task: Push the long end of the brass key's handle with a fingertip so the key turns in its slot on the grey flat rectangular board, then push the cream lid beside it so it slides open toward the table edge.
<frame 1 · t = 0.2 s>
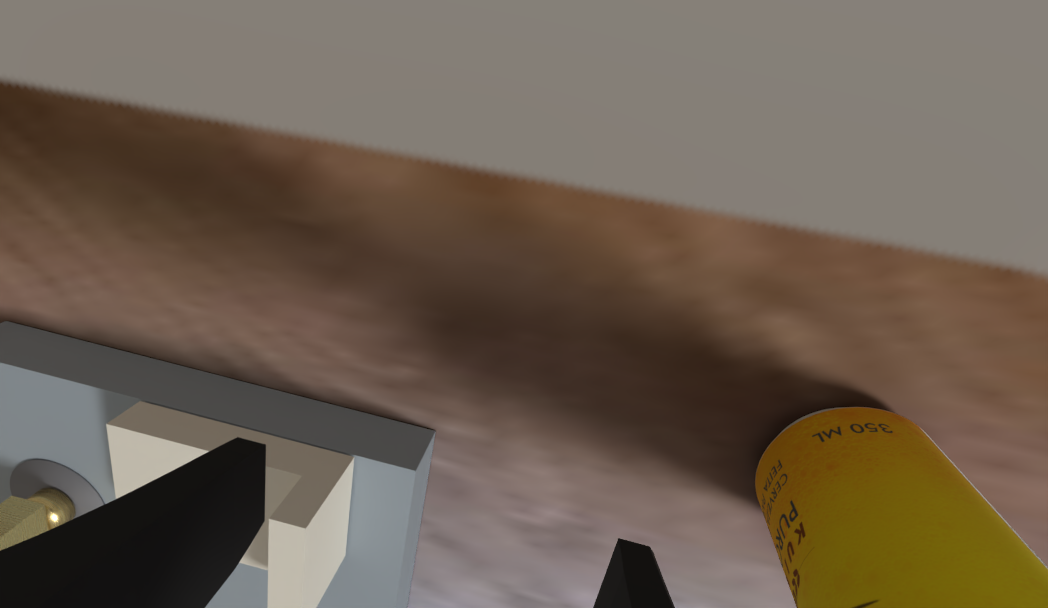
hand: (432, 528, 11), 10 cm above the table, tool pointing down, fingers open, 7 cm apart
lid: (216, 513, 20), point 4 cm above the table, slide at 0.0 cm
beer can: (834, 461, 20), on the table
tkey: (18, 594, 22), point 5 cm above the table, hinge at 0.0°
grey flat rectangular board: (220, 510, 26), on the table
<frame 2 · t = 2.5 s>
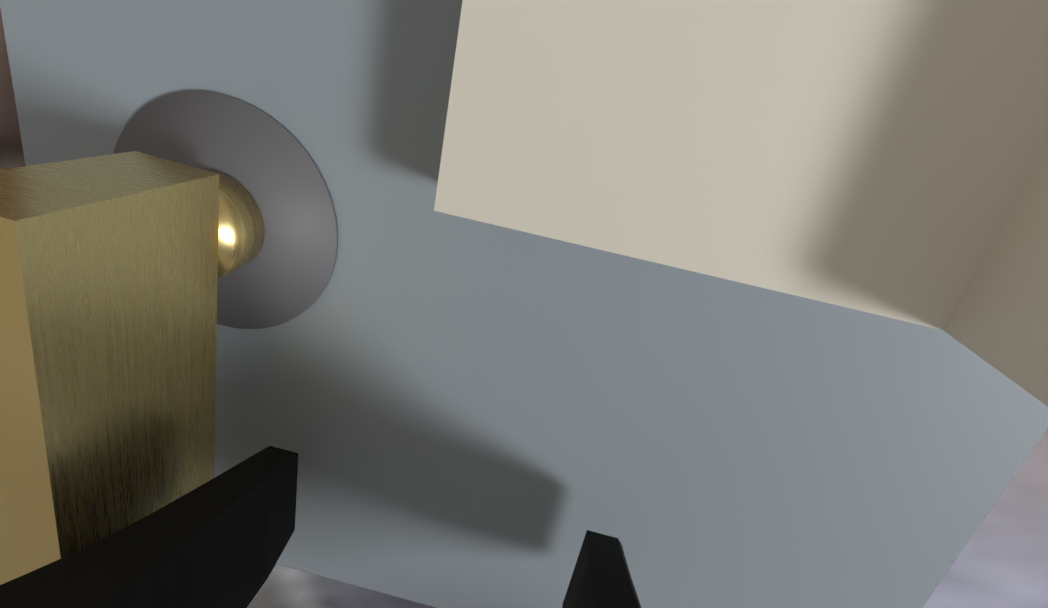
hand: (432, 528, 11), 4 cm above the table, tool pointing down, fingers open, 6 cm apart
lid: (800, 89, 6), point 4 cm above the table, slide at 0.0 cm
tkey: (132, 414, 9), point 5 cm above the table, hinge at -2.3°, touching gripper
grey flat rectangular board: (522, 290, 13), on the table
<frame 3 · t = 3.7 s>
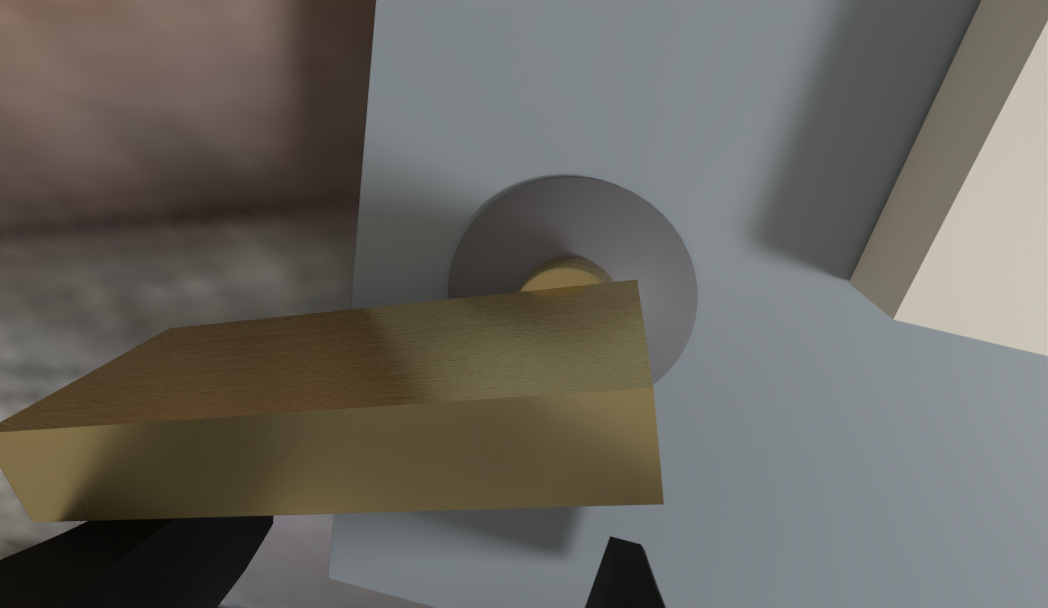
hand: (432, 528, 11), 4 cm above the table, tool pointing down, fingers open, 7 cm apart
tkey: (367, 376, 8), point 5 cm above the table, hinge at -69.2°, touching gripper
grey flat rectangular board: (807, 359, 12), on the table
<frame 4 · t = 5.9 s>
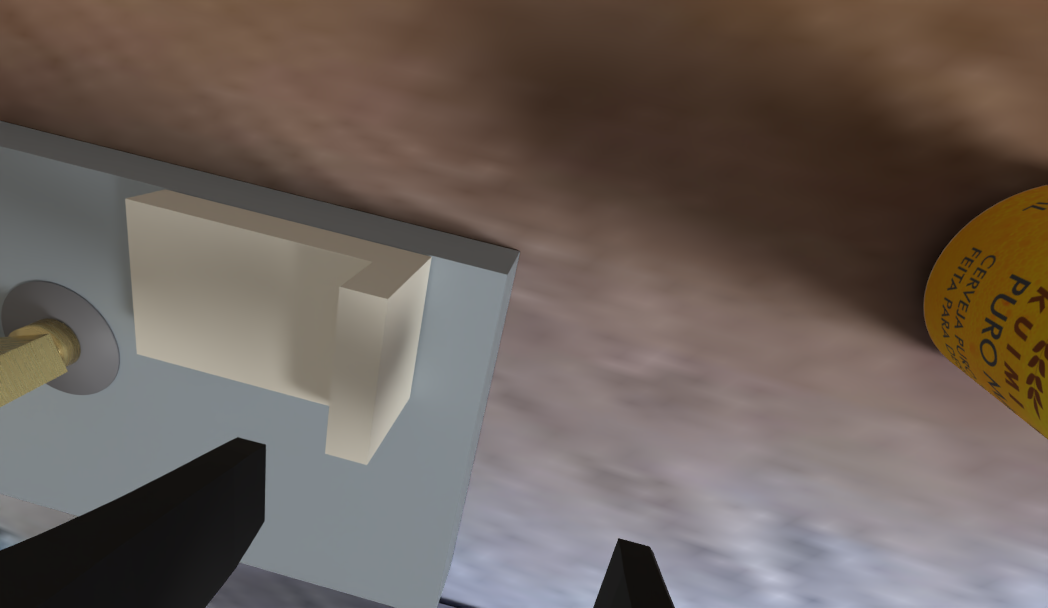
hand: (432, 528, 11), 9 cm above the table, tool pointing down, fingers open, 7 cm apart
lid: (260, 319, 16), point 4 cm above the table, slide at 0.0 cm
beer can: (1016, 276, 17), on the table
grey flat rectangular board: (250, 369, 22), on the table
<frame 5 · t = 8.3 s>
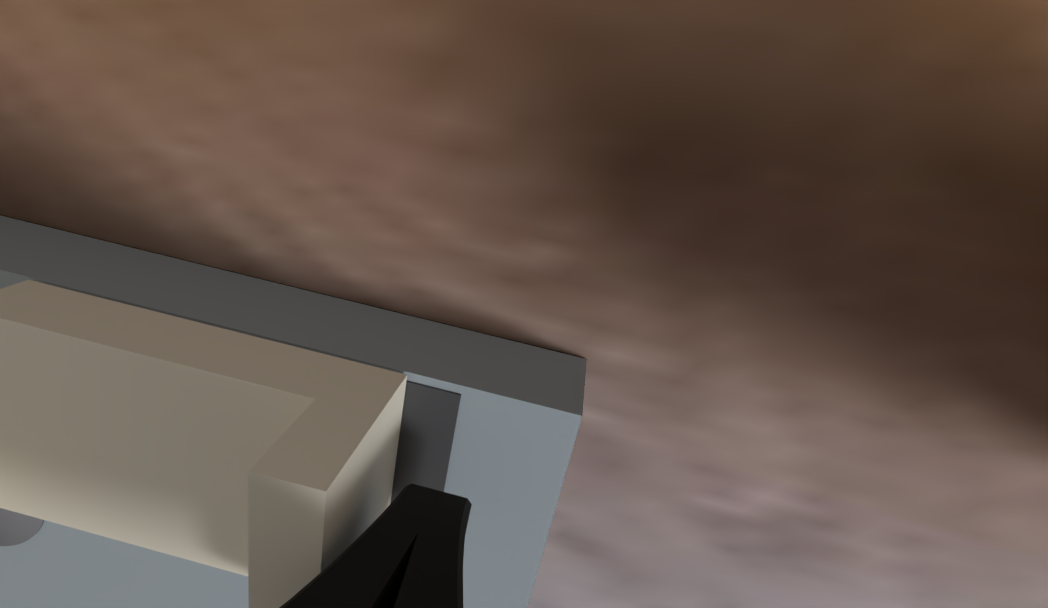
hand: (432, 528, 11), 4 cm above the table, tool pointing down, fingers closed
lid: (158, 474, 11), point 4 cm above the table, slide at 1.4 cm, touching gripper
grey flat rectangular board: (225, 495, 17), on the table
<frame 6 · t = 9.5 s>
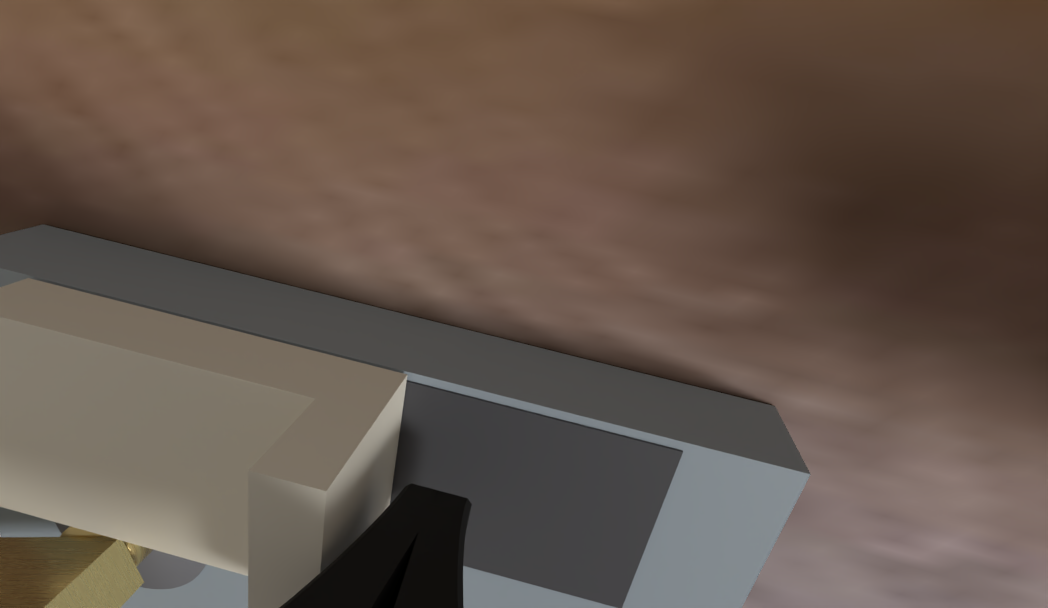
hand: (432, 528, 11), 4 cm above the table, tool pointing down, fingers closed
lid: (158, 473, 11), point 4 cm above the table, slide at 6.0 cm, touching gripper
grey flat rectangular board: (368, 533, 17), on the table
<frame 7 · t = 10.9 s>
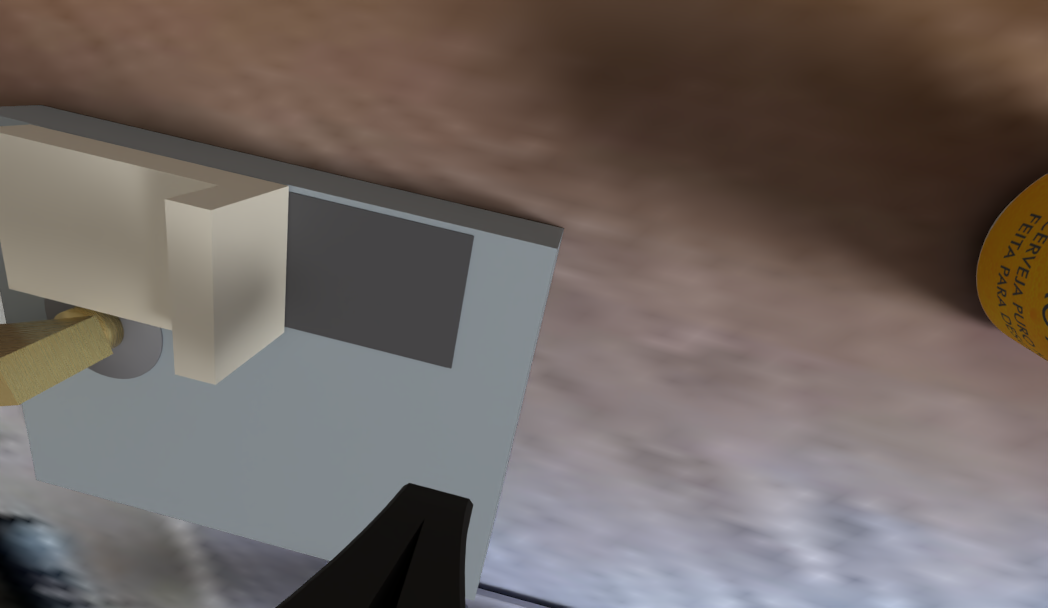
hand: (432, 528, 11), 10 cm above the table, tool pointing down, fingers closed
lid: (118, 247, 16), point 4 cm above the table, slide at 6.0 cm
grey flat rectangular board: (288, 353, 22), on the table
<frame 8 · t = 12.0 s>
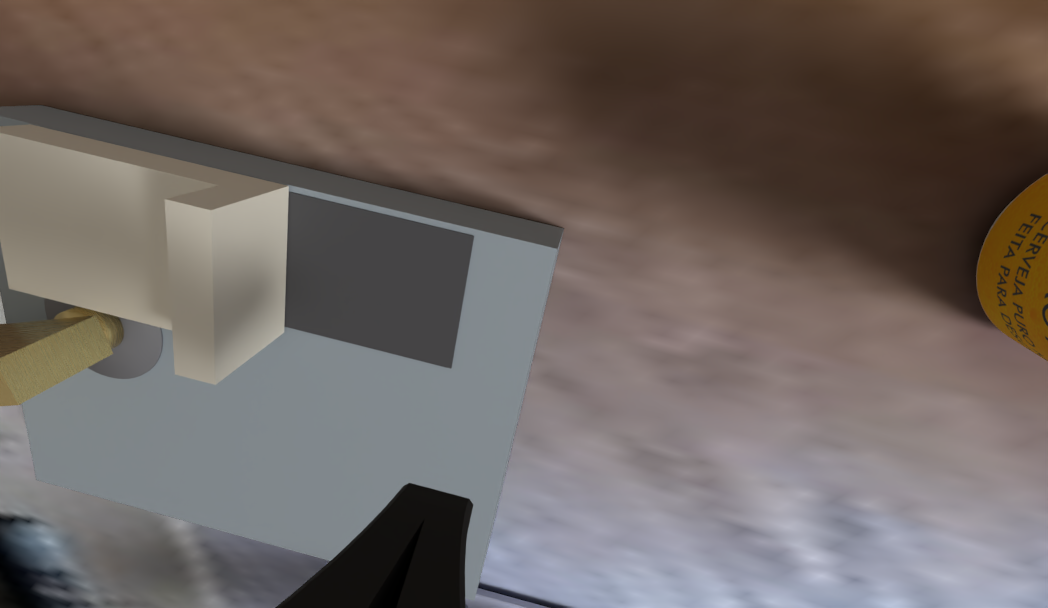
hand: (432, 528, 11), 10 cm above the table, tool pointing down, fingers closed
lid: (118, 247, 16), point 4 cm above the table, slide at 6.0 cm
grey flat rectangular board: (288, 353, 22), on the table
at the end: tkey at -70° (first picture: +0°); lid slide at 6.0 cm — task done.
